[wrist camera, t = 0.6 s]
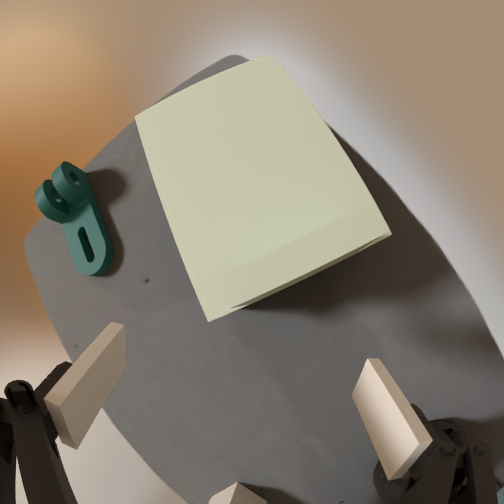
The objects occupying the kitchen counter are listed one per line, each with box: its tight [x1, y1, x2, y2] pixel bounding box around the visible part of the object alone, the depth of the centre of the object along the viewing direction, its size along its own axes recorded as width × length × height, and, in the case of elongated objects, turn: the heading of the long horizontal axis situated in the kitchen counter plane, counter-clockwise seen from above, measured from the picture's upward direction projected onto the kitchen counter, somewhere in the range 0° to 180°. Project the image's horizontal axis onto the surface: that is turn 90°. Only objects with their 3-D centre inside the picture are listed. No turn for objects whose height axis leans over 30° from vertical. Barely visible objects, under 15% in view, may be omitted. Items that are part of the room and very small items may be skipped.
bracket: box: [35, 162, 113, 276], centre depth 36 cm, size 18×7×8 cm, turn 33°
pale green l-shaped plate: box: [135, 54, 392, 322], centre depth 23 cm, size 25×18×11 cm
